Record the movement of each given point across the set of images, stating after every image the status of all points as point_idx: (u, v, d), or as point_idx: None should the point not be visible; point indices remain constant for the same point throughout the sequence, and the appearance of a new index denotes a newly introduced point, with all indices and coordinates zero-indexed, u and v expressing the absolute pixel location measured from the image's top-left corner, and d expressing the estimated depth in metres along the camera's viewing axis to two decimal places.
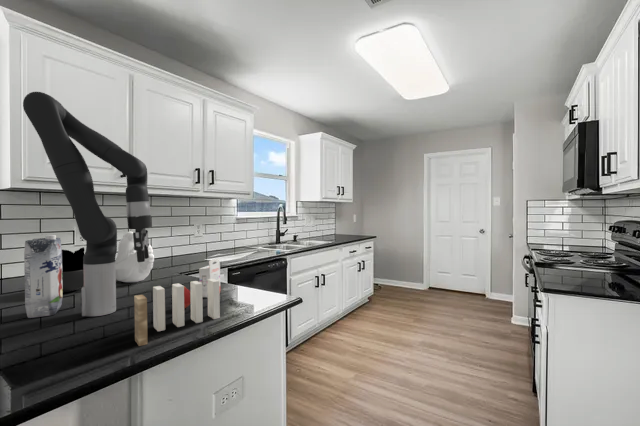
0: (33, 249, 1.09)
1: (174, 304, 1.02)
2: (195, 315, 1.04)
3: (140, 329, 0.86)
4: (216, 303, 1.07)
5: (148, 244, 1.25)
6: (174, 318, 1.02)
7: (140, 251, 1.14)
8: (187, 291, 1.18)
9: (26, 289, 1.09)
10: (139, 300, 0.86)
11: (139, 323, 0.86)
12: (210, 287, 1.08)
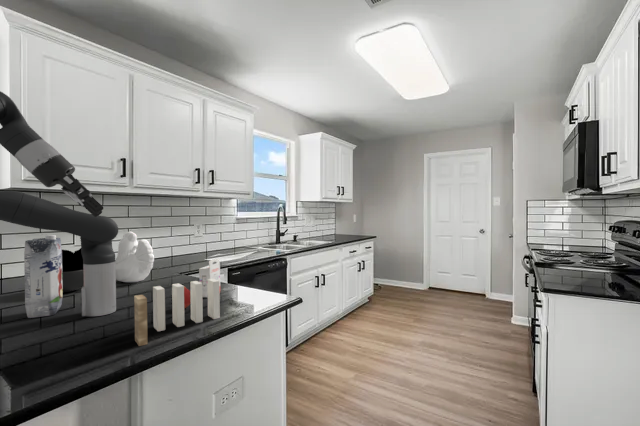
0: (33, 249, 1.09)
1: (174, 304, 1.02)
2: (195, 315, 1.04)
3: (140, 329, 0.86)
4: (216, 303, 1.07)
5: None
6: (174, 318, 1.02)
7: (89, 198, 0.80)
8: (187, 291, 1.18)
9: (26, 289, 1.09)
10: (139, 300, 0.86)
11: (139, 323, 0.86)
12: (210, 287, 1.08)
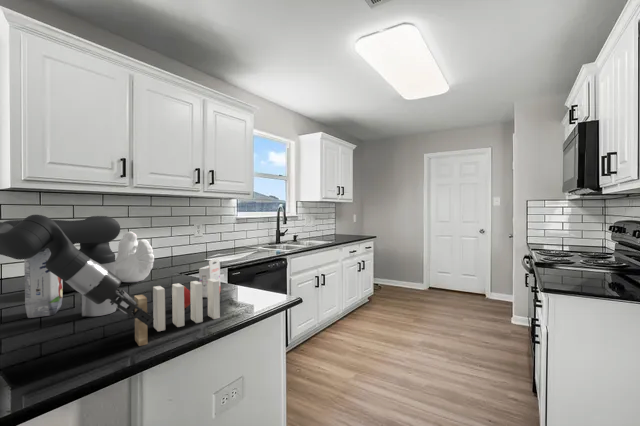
0: None
1: (174, 304, 1.02)
2: (195, 315, 1.04)
3: (140, 329, 0.86)
4: (216, 303, 1.07)
5: None
6: (174, 318, 1.02)
7: (141, 314, 0.85)
8: (187, 291, 1.18)
9: (26, 289, 1.09)
10: (139, 300, 0.86)
11: (139, 323, 0.86)
12: (210, 287, 1.08)
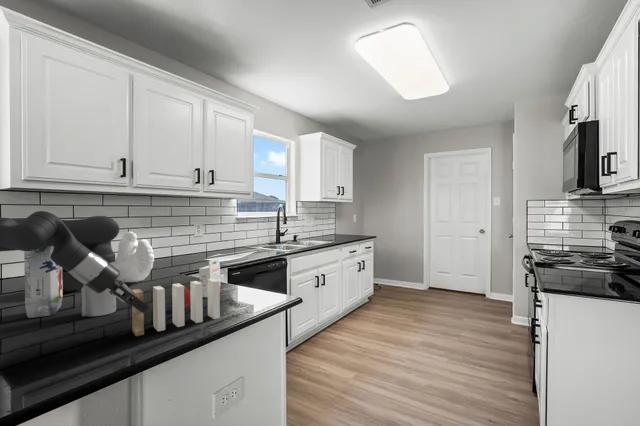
0: None
1: (174, 304, 1.02)
2: (195, 315, 1.04)
3: (137, 320, 0.93)
4: (216, 303, 1.07)
5: None
6: (174, 318, 1.02)
7: (137, 302, 0.90)
8: (187, 291, 1.18)
9: (26, 289, 1.09)
10: (136, 293, 0.93)
11: (136, 315, 0.93)
12: (210, 287, 1.08)
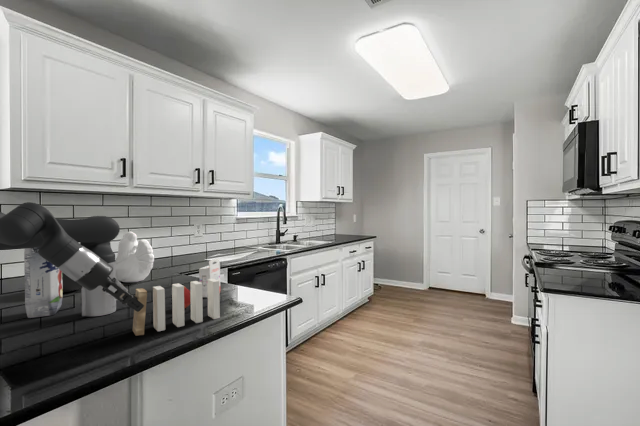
0: (33, 249, 1.09)
1: (174, 304, 1.02)
2: (195, 315, 1.04)
3: (138, 320, 0.93)
4: (216, 303, 1.07)
5: None
6: (174, 318, 1.02)
7: (131, 300, 0.85)
8: (187, 291, 1.18)
9: (26, 289, 1.09)
10: (140, 293, 0.93)
11: (138, 314, 0.93)
12: (210, 287, 1.08)
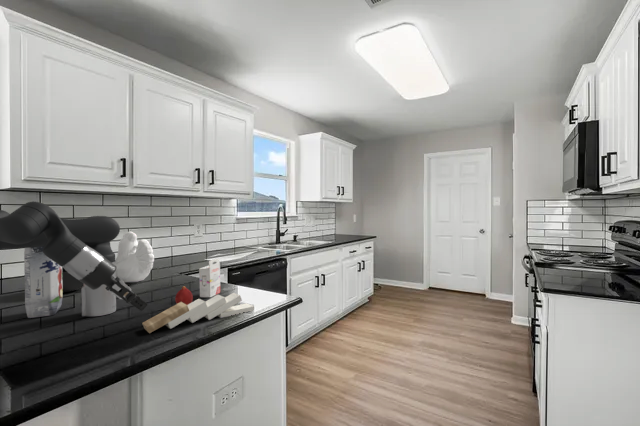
0: (33, 249, 1.09)
1: None
2: None
3: (162, 320, 0.97)
4: (234, 312, 1.11)
5: None
6: None
7: (134, 299, 0.86)
8: (187, 291, 1.18)
9: (26, 289, 1.09)
10: (186, 306, 1.01)
11: (167, 316, 0.98)
12: (245, 306, 1.16)
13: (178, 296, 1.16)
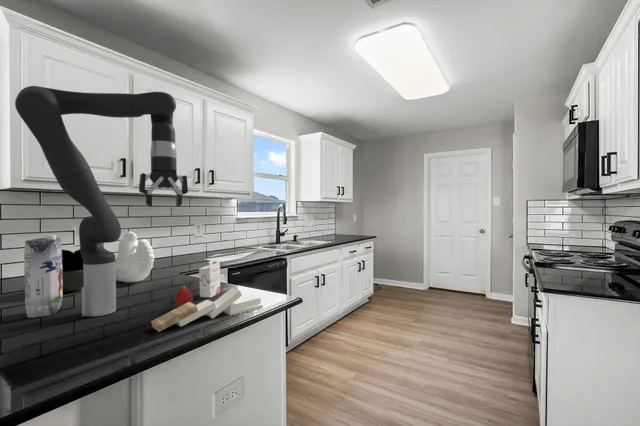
0: (33, 249, 1.09)
1: (221, 299, 1.12)
2: (234, 303, 1.13)
3: (171, 319, 0.98)
4: (243, 311, 1.13)
5: None
6: None
7: None
8: (187, 291, 1.18)
9: (26, 289, 1.09)
10: (195, 306, 1.03)
11: (176, 316, 0.99)
12: None
13: (178, 296, 1.16)
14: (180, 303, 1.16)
